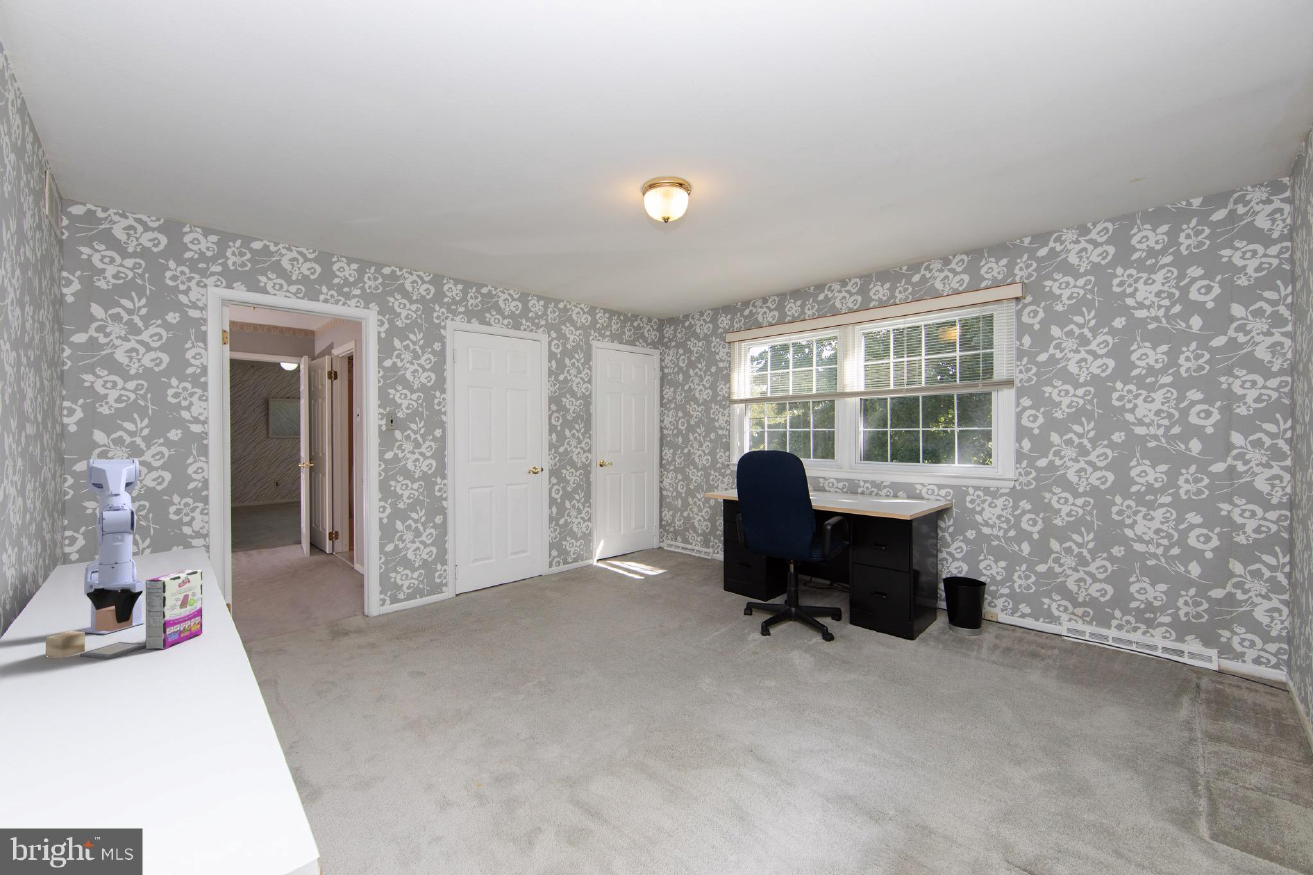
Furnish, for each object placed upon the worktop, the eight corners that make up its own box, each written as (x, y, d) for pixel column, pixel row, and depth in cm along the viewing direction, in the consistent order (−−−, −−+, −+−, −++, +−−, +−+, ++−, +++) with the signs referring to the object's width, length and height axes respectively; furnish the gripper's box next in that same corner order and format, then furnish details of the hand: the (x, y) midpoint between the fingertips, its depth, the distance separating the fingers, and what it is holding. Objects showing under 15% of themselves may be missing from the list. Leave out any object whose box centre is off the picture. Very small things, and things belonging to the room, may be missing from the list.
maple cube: (69, 650, 133) (69, 630, 133) (84, 651, 132) (84, 632, 133) (45, 657, 129) (45, 637, 129) (61, 658, 128) (61, 638, 128)
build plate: (119, 644, 137) (119, 641, 137) (146, 646, 136) (146, 643, 136) (79, 656, 129) (80, 653, 129) (107, 659, 128) (108, 655, 128)
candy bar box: (183, 634, 145) (184, 569, 145) (203, 634, 145) (204, 569, 145) (143, 649, 134) (144, 579, 134) (164, 650, 134) (165, 579, 134)
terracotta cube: (117, 624, 135) (117, 605, 135) (132, 625, 134) (132, 606, 134) (95, 630, 131) (95, 610, 131) (110, 631, 130) (111, 611, 130)
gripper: (70, 564, 130) (69, 624, 130) (121, 567, 127) (120, 628, 127) (105, 558, 137) (104, 615, 137) (154, 561, 134) (153, 619, 134)
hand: (114, 621), depth 132 cm, fingers closed on terracotta cube, 4 cm apart
